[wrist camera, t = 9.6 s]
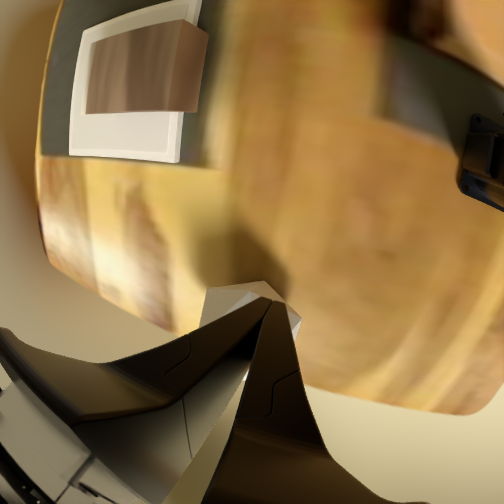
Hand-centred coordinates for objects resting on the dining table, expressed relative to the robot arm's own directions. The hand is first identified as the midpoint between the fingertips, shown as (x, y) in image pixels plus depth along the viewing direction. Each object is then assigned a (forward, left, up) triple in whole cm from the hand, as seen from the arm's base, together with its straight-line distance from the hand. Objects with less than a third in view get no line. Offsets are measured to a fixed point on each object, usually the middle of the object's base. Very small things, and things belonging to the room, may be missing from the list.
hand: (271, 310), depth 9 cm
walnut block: (+10, -10, -10) cm, 17 cm away
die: (+3, +10, -13) cm, 17 cm away
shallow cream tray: (+20, -10, -13) cm, 26 cm away
